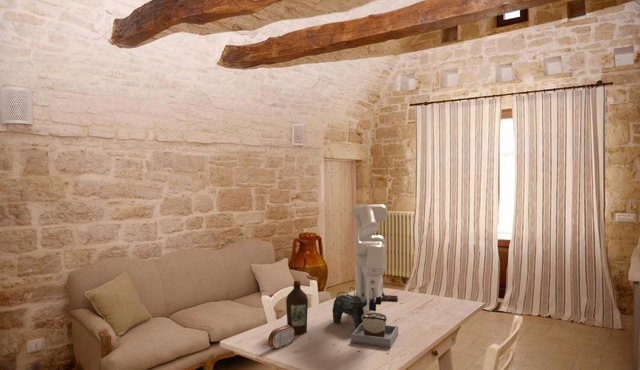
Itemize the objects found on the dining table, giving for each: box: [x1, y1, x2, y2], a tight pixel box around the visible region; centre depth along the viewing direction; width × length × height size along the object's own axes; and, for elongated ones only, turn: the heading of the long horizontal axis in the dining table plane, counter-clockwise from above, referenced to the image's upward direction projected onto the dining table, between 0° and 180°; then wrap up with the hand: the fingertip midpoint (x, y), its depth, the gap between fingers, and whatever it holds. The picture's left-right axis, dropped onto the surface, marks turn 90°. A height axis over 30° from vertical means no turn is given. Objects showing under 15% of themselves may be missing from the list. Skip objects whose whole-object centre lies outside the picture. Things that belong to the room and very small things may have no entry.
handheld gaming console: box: [381, 291, 399, 303], centre depth 280 cm, size 9×12×10 cm
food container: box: [361, 312, 388, 338], centre depth 213 cm, size 12×6×10 cm, turn 70°
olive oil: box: [285, 279, 309, 336], centre depth 222 cm, size 11×11×25 cm
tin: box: [267, 324, 296, 350], centre depth 204 cm, size 15×3×8 cm, turn 141°
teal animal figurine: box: [332, 286, 367, 329], centre depth 230 cm, size 20×6×20 cm, turn 47°
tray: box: [350, 322, 399, 349], centre depth 212 cm, size 18×18×4 cm
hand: (375, 307), depth 212 cm, fingers open, 9 cm apart
